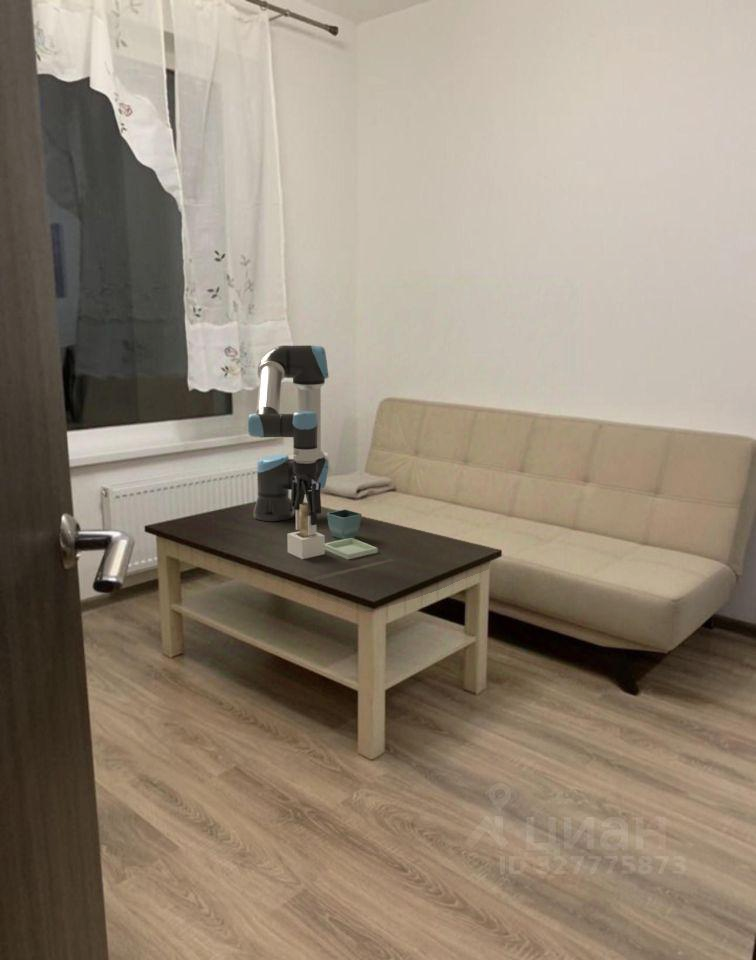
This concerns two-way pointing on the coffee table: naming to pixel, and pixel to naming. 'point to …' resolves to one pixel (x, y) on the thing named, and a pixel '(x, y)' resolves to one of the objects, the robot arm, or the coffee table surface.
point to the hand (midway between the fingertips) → (305, 531)
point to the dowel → (304, 520)
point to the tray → (350, 548)
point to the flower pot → (344, 523)
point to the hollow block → (306, 545)
